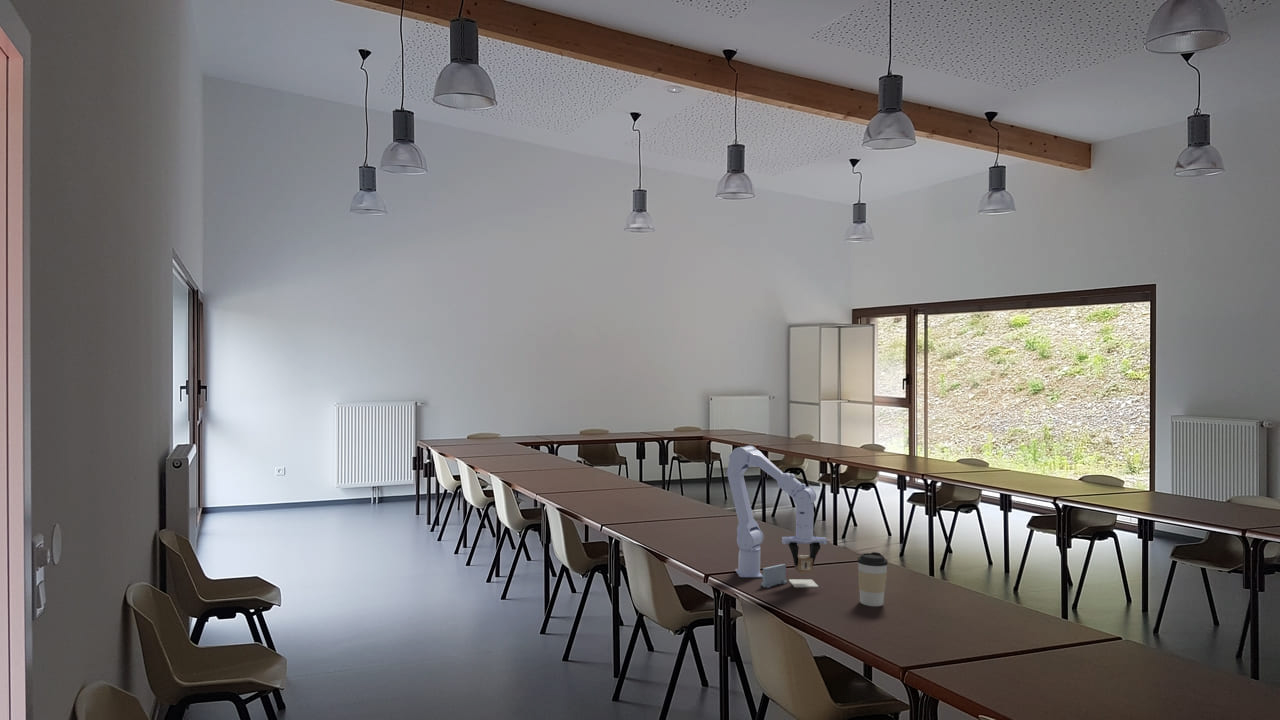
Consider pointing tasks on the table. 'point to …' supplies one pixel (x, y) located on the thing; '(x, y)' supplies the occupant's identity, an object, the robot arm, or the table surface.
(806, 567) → the letter cube
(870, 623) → the table surface
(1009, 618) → the table surface
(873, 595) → the coffee cup
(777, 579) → the screen
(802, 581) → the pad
